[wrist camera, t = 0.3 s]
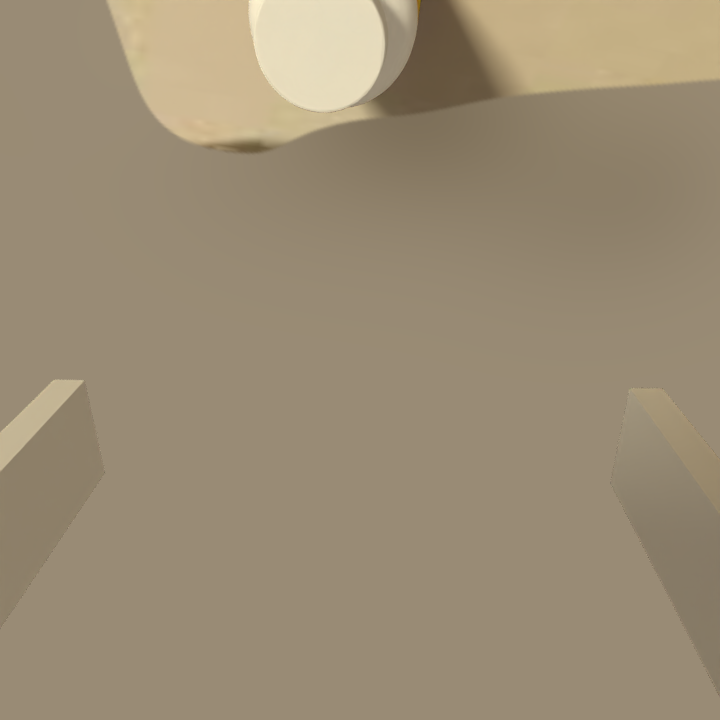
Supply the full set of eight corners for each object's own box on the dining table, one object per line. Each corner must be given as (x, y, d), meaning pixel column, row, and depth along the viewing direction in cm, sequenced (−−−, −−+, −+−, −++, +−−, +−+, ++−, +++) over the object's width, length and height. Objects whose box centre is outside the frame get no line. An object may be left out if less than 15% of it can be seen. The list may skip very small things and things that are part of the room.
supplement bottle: (447, -62, 30) (452, -6, 21) (388, 70, 35) (368, 169, 25) (318, -135, 29) (258, -111, 19) (272, 12, 33) (204, 93, 23)
